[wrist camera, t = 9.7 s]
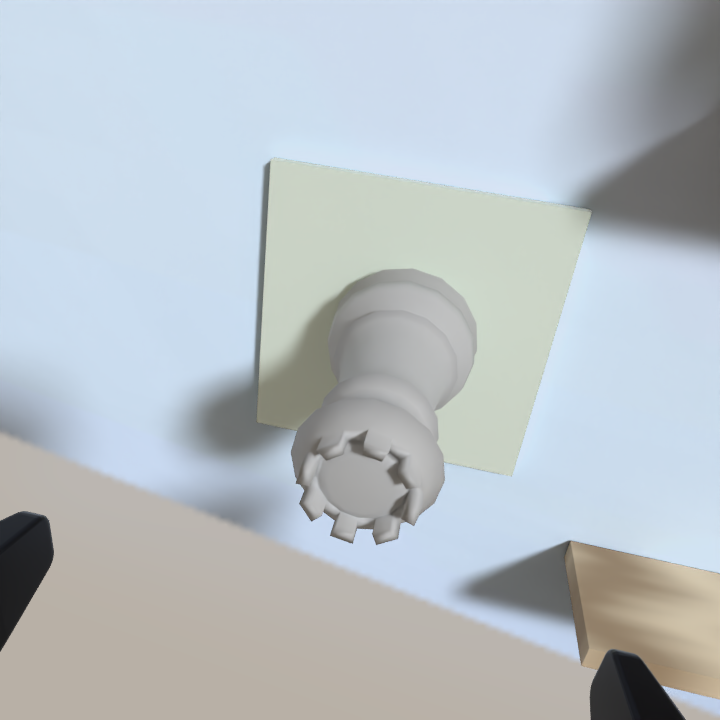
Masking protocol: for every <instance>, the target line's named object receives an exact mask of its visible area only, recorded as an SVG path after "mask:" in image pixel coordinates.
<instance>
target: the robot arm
mask: <svg viewBox="0 0 720 720" xmlns="http://www.w3.org/2000/svg"><path fill="white" fill-rule="evenodd" d="M53 555H54V550H53V543H52V537H51V530H50V523H49V520H48V519H47V517H46V516H44V515H40V514H36V513H31V512H26V511H23V512H18V513H16V514H14V515H12V516H9V517H7V518H5V519H3V520H1V521H0V651H1V650H2V648H3V646H4V645H5V643H6V641H7V640H8V638H9V636H10V635H11V633H12V631H13V630H14V628H15V626H16V624H17V623H18V621H19V619H20V618H21V616H22V614H23V612H24V611H25V609H26V607H27V606H28V604H29V602H30V600H31V599H32V597H33V595H34V593H35V592H36V590H37V588H38V587H39V585H40V583H41V581H42V580H43V578H44V576H45V575H46V573H47V571H48V569H49V568H50V566H51V563H52V560H53ZM590 712H591V720H686V719H685V718H684V716H683V715H682V714H681V712H680V711H679V710H678V708H677V707H676V705H675V704H674V703H673V701H672V700H671V698H670V697H669V696H668V694H667V693H666V692H665V690H664V689H663V687H662V686H661V685H660V683H659V682H658V681H657V679H656V678H655V676H654V675H653V674H652V672H651V671H650V669H649V668H648V667H647V665H646V664H645V663H644V661H643V660H642V659H641V658H640V657H639V656H638V655H636V654H634V653H630V652H626V651H622V650H617V649H610V650H608V651H607V653H606V654H605V656H604V658H603V660H602V662H601V664H600V667H599V669H598V671H597V673H596V675H595V677H594V679H593V682H592V685H591V690H590Z"/></svg>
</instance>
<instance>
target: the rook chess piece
mask: <svg viewBox="0 0 720 720" xmlns="http://www.w3.org/2000/svg"><path fill="white" fill-rule="evenodd" d="M328 348H329V356H330V363H331V370H332V372H333V373H334V375H335V377H336V379H337V381H338V384H337V385H336V386H335V387H334V388H333V389H332V390H331V391H330V392H329V393H328V394H327V395H326V397H325V398H324V400H323V403H322V406H321V408H319V409H316V410H315V411H314V412H313V413H312V414H311V415H310V416H309V417H308V418H307V419H306V421H305V422H304V423H303V424H302V425H301V426H300V427H299V428H298V430H297V433H296V436H295V440H294V443H293V446H292V450H291V456H292V461H293V467H294V472H295V477H296V478H297V481H296V484H300V485H301V486H302V488H303V489H304V493H303V496H302V498H301V500H300V503H299V504H300V505H301V507H302V508H303V510H304V511H305V513H306V514H307V516H308V517H309V519H310V520H311V521H313V520H315V519H317V518H319V517H320V516H322V514H323V512H324V513H326V514H327V515H328V516H330V517H331V518H332V519H333V520H335V522H334V525H333V528H332V531H331V534H330V536H333V537H335V538H338V539H341V540H344V541H347V542H349V543H352V544H353V541H354V537H355V533H356V530H357V528H358V529H373V533H372V535H373V537H374V540H375V543H376V545H378V544H381V543H385V542H388V541H392V540H395V539H398V535H399V529H400V524H401V523H403V522H408V523H409V524H411V525H413V526H414V525H415V523H416V520H417V518H418V516H419V515H420V514H421V513H423V512H424V511H425V510H426V509H428V508H429V507H430V506H431V505H433V504H434V503H435V501H436V499H437V496H438V494H439V492H440V490H441V488H442V486H443V484H444V481H445V476H444V456H443V453H442V451H441V450H440V448H439V446H438V444H437V441H438V439H439V435H438V418H437V416H436V414H435V412H434V411H436V410H438V409H441V408H442V407H443V406H445V405H446V404H447V403H448V402H449V401H450V400H451V399H452V398H453V397H455V396H456V395H457V394H458V393H459V392H460V391H461V390H462V388H463V387H464V385H465V383H466V381H467V378H468V376H469V374H470V372H471V369H472V367H473V365H474V356H475V354H476V352H477V323H476V321H475V319H474V317H473V315H472V313H471V311H470V309H469V307H468V305H467V303H466V301H465V299H464V297H463V296H461V295H460V294H459V293H458V292H457V291H456V290H455V289H453V288H452V287H451V286H450V285H449V284H448V283H446V282H445V281H444V280H443V279H442V278H439V277H436V276H433V275H431V274H428V273H425V272H422V271H419V270H416V269H413V268H411V269H388V270H381V271H379V272H377V273H375V274H373V275H371V276H368V277H366V278H364V279H362V280H360V281H358V282H356V284H355V285H354V286H353V287H352V288H351V289H350V290H349V292H348V293H347V294H346V295H345V296H344V297H343V298H342V299H341V301H340V302H339V304H338V308H337V311H336V313H335V316H334V319H333V322H332V326H331V329H330V332H329V336H328Z"/></svg>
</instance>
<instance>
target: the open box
mask: <svg viewBox="0 0 720 720" xmlns="http://www.w3.org/2000/svg"><path fill="white" fill-rule="evenodd" d="M564 559H565V565H566V572H567V578H568V584H569V591H570V597H571V604H572V610H573V616H574V623H575V629H576V635H577V642H578V648H579V654H580V661H581V666H583V667H587V668H591V669H596V670H598V669H599V667H600V664H601V662H602V660H603V658H604V656H605V654H606V653H607V651H608V650H610V649H617V650H622V651H626V652H630V653H634V654H636V655H638V656H639V657H640V658H641V659H642V660H643V661H644V663H645V664H646V665H647V667H648V668H649V669H650V671H651V672H652V674H653V675H654V676H655V678H656V679H657V681H658V682H659V683H660V685H662V686H666V687H670V688H674V689H678V690H683V691H687V692H691V693H695V694H699V695H703V696H707V697H712V698H716V699H720V574H718V573H714V572H709V571H705V570H700V569H696V568H691V567H687V566H682V565H678V564H673V563H669V562H664V561H660V560H655V559H650V558H646V557H641V556H637V555H632V554H628V553H623V552H619V551H614V550H610V549H605V548H601V547H596V546H592V545H587V544H582V543H578V542H573V541H570V543H569V546H568V548H567V551H566V554H565V556H564Z"/></svg>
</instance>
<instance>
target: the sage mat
mask: <svg viewBox="0 0 720 720" xmlns="http://www.w3.org/2000/svg"><path fill="white" fill-rule="evenodd" d="M591 213H592V212H591V211H590V209H585V208H579V207H573V206H567V205H561V204H555V203H549V202H543V201H537V200H530V199H524V198H518V197H512V196H506V195H500V194H494V193H488V192H482V191H476V190H470V189H463V188H457V187H451V186H445V185H439V184H433V183H427V182H421V181H415V180H409V179H403V178H397V177H390V176H384V175H378V174H372V173H366V172H360V171H354V170H348V169H342V168H336V167H330V166H323V165H317V164H311V163H305V162H299V161H293V160H287V159H281V158H273V159H271V162H270V180H269V199H268V217H267V236H266V254H265V272H264V291H263V309H262V328H261V346H260V365H259V383H258V401H257V420H256V422H257V423H262V424H267V425H272V426H276V427H281V428H286V429H290V430H295V431H297V430H298V428H299V427H300V426H301V425H302V424H303V423H304V422H305V421H306V419H307V418H308V417H309V416H310V415H311V414H312V413H313V412H314V411H315V410H316V409H319V408H321V406H322V403H323V400H324V398H325V397H326V395H327V394H328V393H329V392H330V391H331V390H332V389H333V388H334V387H335V386H336V385H337V384H338V381H337V379H336V377H335V375H334V373H333V372H332V370H331V363H330V356H329V348H328V336H329V332H330V329H331V326H332V322H333V319H334V316H335V313H336V311H337V308H338V304H339V302H340V301H341V299H342V298H343V297H344V296H345V295H346V294H347V293H348V292H349V290H350V289H351V288H352V287H353V286H354V285H355V284H356V282H358V281H360V280H362V279H364V278H366V277H368V276H371V275H373V274H375V273H377V272H379V271H381V270H388V269H411V268H413V269H416V270H419V271H422V272H425V273H428V274H431V275H433V276H436V277H439V278H442V279H443V280H444V281H445V282H446V283H448V284H449V285H450V286H451V287H452V288H453V289H455V290H456V291H457V292H458V293H459V294H460V295H461V296H463V297H464V299H465V301H466V303H467V305H468V307H469V309H470V311H471V313H472V315H473V317H474V319H475V321H476V323H477V352H476V354H475V356H474V365H473V367H472V369H471V372H470V374H469V376H468V378H467V381H466V383H465V385H464V387H463V388H462V390H461V391H460V392H459V393H458V394H457V395H456V396H455V397H453V398H452V399H451V400H450V401H449V402H448V403H447V404H446V405H445V406H443V407H442V408H441V409H438V410H436V411H434V412H435V414H436V416H437V418H438V435H439V439H438V441H437V444H438V446H439V448H440V450H441V451H442V453H443V456H444V462H446V463H451V464H456V465H460V466H465V467H470V468H475V469H479V470H484V471H489V472H493V473H498V474H503V475H508V476H512V475H513V471H514V468H515V465H516V461H517V458H518V455H519V451H520V448H521V445H522V441H523V438H524V435H525V432H526V428H527V425H528V422H529V418H530V415H531V412H532V408H533V405H534V402H535V399H536V395H537V392H538V389H539V385H540V382H541V379H542V375H543V372H544V369H545V365H546V362H547V359H548V356H549V352H550V349H551V346H552V342H553V339H554V336H555V332H556V329H557V326H558V323H559V319H560V316H561V313H562V309H563V306H564V303H565V299H566V296H567V293H568V289H569V286H570V283H571V280H572V276H573V273H574V270H575V266H576V263H577V260H578V256H579V253H580V250H581V247H582V243H583V240H584V237H585V233H586V230H587V227H588V223H589V220H590V217H591Z"/></svg>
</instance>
